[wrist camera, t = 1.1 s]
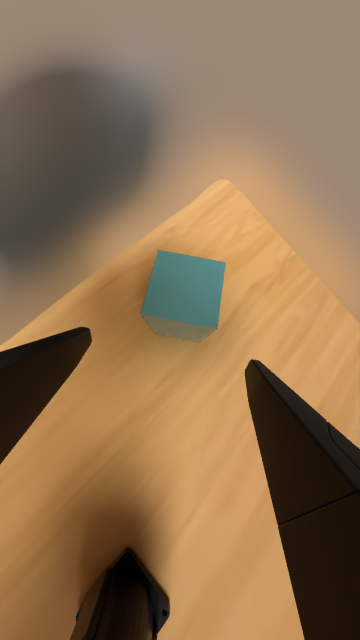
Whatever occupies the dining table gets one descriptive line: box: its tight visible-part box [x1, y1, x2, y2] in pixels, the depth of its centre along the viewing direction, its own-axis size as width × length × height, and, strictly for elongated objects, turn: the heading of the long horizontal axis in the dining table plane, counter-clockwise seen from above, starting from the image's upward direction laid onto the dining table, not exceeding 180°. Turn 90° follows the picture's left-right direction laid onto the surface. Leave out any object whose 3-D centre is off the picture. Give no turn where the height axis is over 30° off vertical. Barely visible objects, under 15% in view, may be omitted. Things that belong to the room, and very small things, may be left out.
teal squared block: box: [141, 250, 226, 342], centre depth 18 cm, size 7×7×10 cm
